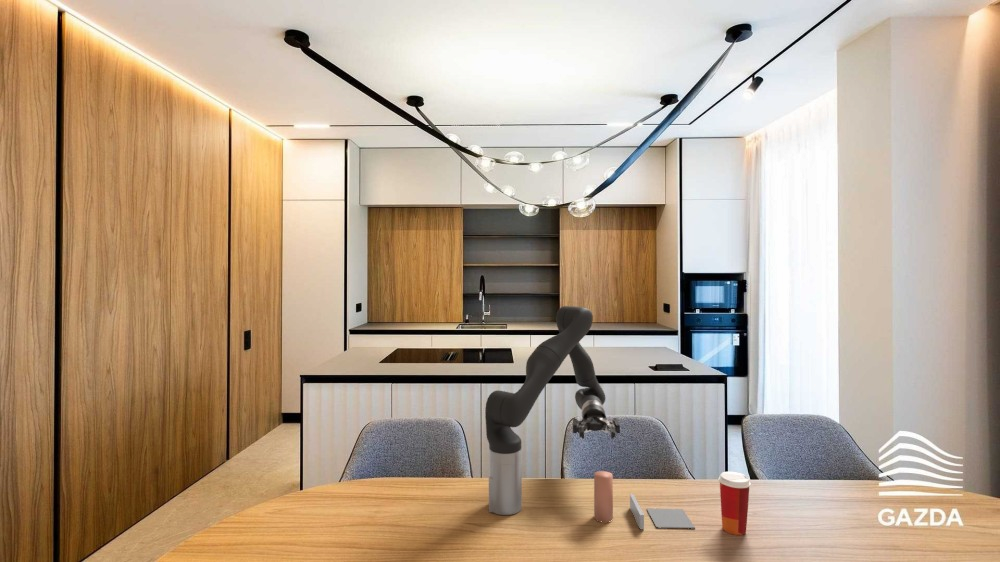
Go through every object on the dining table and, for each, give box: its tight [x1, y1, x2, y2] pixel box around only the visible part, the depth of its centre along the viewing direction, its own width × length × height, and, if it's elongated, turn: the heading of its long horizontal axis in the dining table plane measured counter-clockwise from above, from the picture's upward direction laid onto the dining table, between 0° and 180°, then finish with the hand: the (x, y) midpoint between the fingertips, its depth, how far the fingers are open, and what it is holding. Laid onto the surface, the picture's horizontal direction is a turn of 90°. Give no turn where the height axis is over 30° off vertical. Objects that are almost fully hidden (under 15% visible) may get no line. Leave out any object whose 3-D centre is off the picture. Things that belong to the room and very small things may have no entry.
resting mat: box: [646, 508, 696, 530], centre depth 136 cm, size 10×10×1 cm
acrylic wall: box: [629, 493, 645, 530], centre depth 136 cm, size 1×12×4 cm, turn 178°
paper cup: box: [717, 471, 752, 536], centre depth 130 cm, size 8×8×14 cm
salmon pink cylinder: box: [593, 470, 614, 523], centre depth 137 cm, size 5×5×12 cm
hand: (597, 435), depth 147 cm, fingers open, 8 cm apart
